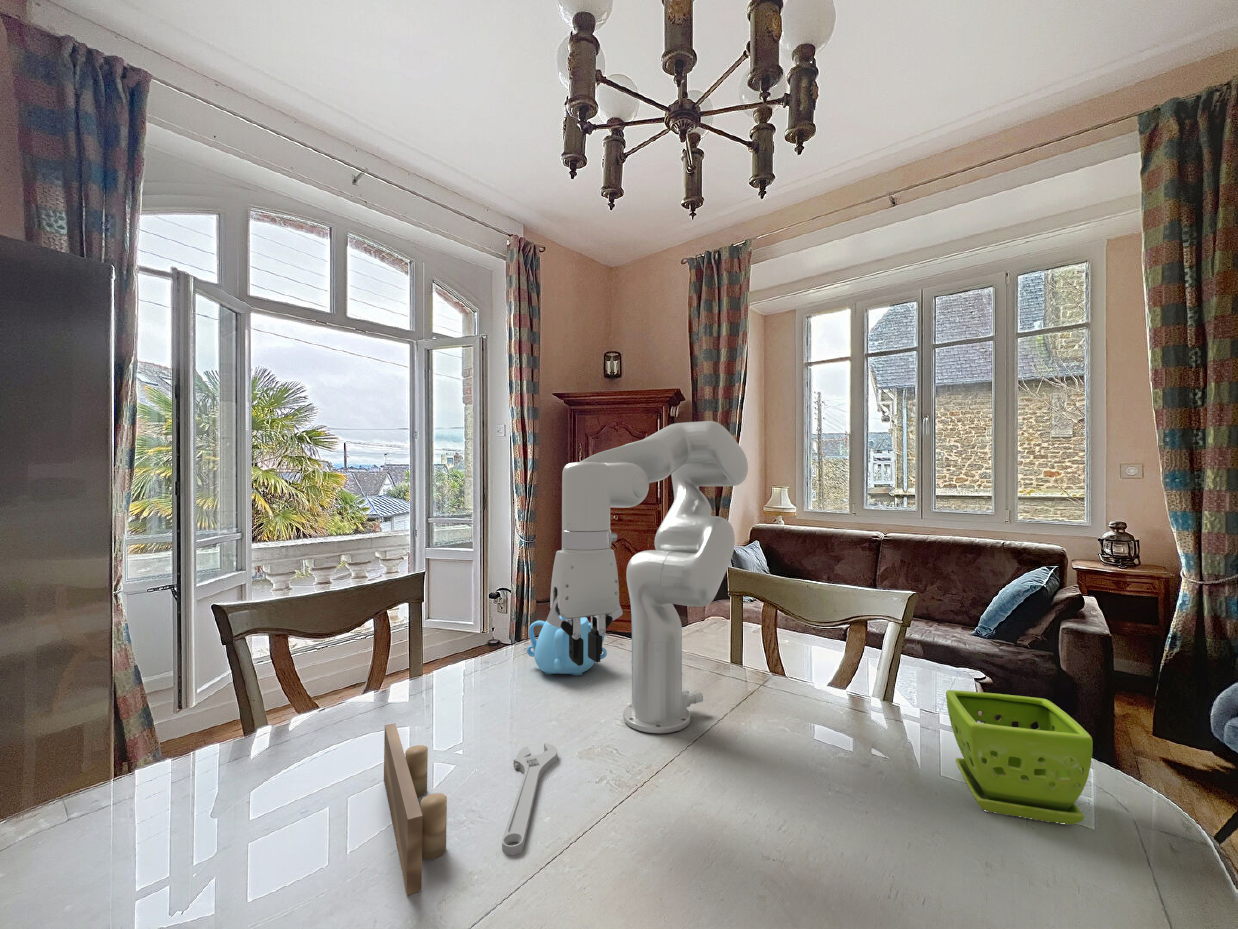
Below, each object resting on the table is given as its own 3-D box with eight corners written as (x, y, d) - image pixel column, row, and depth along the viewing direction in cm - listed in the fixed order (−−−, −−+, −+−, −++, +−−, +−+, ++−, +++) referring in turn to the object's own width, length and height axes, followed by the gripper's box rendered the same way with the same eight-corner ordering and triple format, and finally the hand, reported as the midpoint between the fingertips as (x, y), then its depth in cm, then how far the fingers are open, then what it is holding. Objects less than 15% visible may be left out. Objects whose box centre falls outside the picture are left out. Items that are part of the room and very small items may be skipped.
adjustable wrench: (522, 860, 64) (522, 845, 65) (469, 858, 65) (469, 843, 65) (560, 754, 89) (559, 743, 89) (521, 753, 90) (521, 742, 90)
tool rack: (420, 770, 83) (421, 718, 84) (456, 878, 61) (457, 806, 61) (383, 779, 81) (384, 725, 81) (406, 895, 58) (407, 819, 58)
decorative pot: (521, 665, 132) (521, 609, 133) (579, 654, 141) (579, 601, 141) (550, 686, 119) (550, 624, 119) (612, 672, 127) (612, 614, 128)
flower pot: (1052, 784, 80) (1050, 697, 80) (1101, 843, 67) (1098, 739, 67) (944, 768, 85) (943, 686, 85) (970, 820, 71) (968, 722, 72)
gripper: (619, 537, 91) (619, 647, 90) (528, 541, 83) (527, 662, 83) (642, 541, 84) (642, 660, 84) (546, 547, 77) (545, 678, 76)
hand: (585, 660), depth 83 cm, fingers closed
